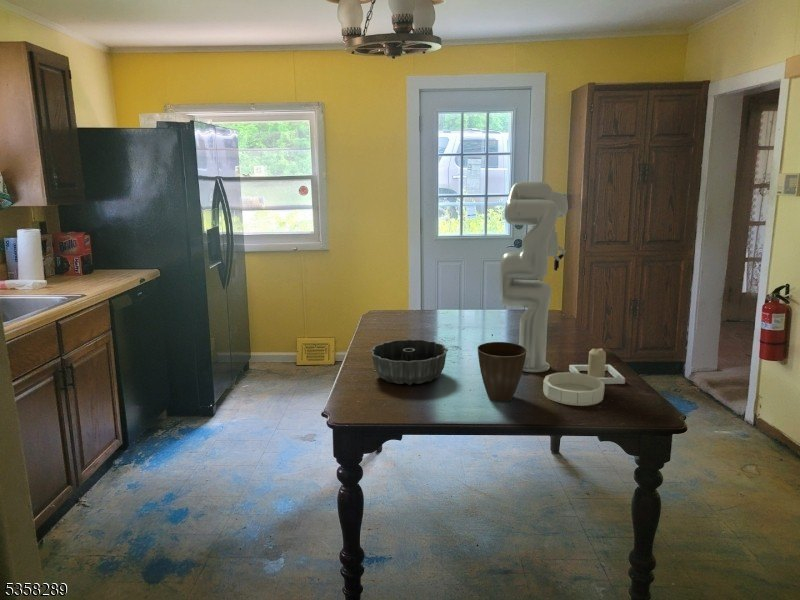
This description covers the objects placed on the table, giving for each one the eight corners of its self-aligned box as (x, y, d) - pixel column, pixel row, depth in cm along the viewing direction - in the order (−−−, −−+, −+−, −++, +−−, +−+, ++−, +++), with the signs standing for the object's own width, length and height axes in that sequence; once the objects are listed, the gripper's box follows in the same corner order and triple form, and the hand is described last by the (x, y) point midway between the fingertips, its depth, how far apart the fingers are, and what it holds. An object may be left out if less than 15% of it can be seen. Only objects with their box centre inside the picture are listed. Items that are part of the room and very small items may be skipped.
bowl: (578, 410, 172) (579, 396, 171) (531, 392, 186) (532, 379, 185) (615, 396, 182) (616, 383, 181) (568, 380, 196) (568, 368, 195)
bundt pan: (357, 384, 196) (356, 355, 194) (390, 361, 219) (390, 335, 217) (430, 395, 185) (430, 365, 183) (457, 370, 209) (457, 343, 206)
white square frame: (624, 383, 193) (625, 378, 193) (581, 384, 193) (581, 378, 193) (609, 369, 207) (609, 364, 207) (569, 369, 207) (569, 364, 207)
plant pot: (534, 397, 182) (536, 348, 179) (506, 411, 172) (507, 359, 168) (495, 385, 192) (496, 339, 189) (466, 397, 182) (467, 348, 179)
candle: (600, 373, 203) (602, 346, 201) (606, 379, 198) (608, 350, 196) (585, 374, 203) (586, 346, 201) (590, 379, 198) (592, 351, 195)
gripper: (525, 229, 234) (523, 271, 237) (569, 229, 233) (567, 271, 236) (522, 227, 241) (521, 268, 244) (565, 227, 240) (563, 268, 243)
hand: (543, 270), depth 240 cm, fingers open, 9 cm apart
